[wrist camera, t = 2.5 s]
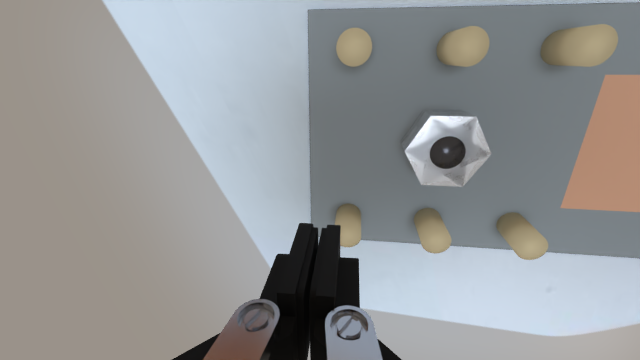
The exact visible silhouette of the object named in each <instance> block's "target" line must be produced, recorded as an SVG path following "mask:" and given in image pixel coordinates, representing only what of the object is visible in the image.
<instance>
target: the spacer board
mask: <svg viewBox="0 0 640 360" xmlns="http://www.w3.org/2000/svg"><path fill="white" fill-rule="evenodd" d="M308 54H309V116H310V179H311V224H313V226H314V227H318V237H320V235H321V230H322V228H327V225H341V233H340V245H341V246H343V247H352V246H355V245H357V244H358V243H359V241H360V240H372V241H387V242H402V243H417V244H422V247H423V248H424V249H425V250H426V251H428V252H430V253H441V252H443V251H445V250H447V249H448V248H449V246H462V247H478V248H493V249H508V250H514V251H515V253H516V254H517V255H518V256H519V257H520V258H522V259H526V260H533V259H537V258H539V257H541V256H542V255H544V254H545V252H553V253H568V254H583V255H598V256H613V257H628V258H640V3H596V4H549V5H502V6H455V7H408V8H361V9H315V10H308ZM423 110H464V111H466V112H468V113H470V114H472V115H474V116H476V117H477V119H478V122H479V124H480V127H481V129H482V132H483V134H484V137H485V139H486V142H487V144H488V147H489V149H490V152H491V155H490V156H489V158H488V159H487V160H486V161H485V162H484V163H483V164H482V166H481V167H480V168H479V169H478V170H477V171H476V172H475V173H474V175H473V176H472V177H471V178H470V179H469V180H468V181H467V183H466V184H465V185H464V186H463V187H456V186H433V185H421V183H420V181H419V179H418V177H417V175H416V173H415V171H414V169H413V167H412V165H411V163H410V161H409V159H408V157H407V155H406V153H405V151H404V149H403V147H402V145H401V143H400V142H401V140H402V139H403V137H404V136H405V135H406V133H407V132H408V130H409V129H410V128H411V126H412V125H413V124H414V122H415V121H416V119H417V118H418V117H419V115H420V114H421V112H422V111H423Z"/></svg>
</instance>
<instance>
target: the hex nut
mask: <svg viewBox="0 0 640 360" xmlns="http://www.w3.org/2000/svg"><path fill="white" fill-rule="evenodd" d="M400 143H401V145H402V147H403V149H404V151H405V153H406V155H407V157H408V159H409V161H410V163H411V165H412V167H413V169H414V171H415V173H416V175H417V177H418V179H419V181H420V183H421V185H433V186H456V187H463V186H464V185H465V184H466V183H467V181H468V180H469V179H470V178H471V177H472V176H473V175H474V173H475V172H476V171H477V170H478V169H479V168H480V167H481V166H482V164H483V163H484V162H485V161H486V160H487V159H488V158H489V156H490V155H491V152H490V149H489V147H488V144H487V142H486V139H485V137H484V134H483V132H482V129H481V127H480V124H479V122H478V119H477V117H476V116H474V115H472V114H470V113H468V112H466V111H464V110H423V111H422V112H421V114H420V115H419V117H418V118H417V119H416V121H415V122H414V124H413V125H412V126H411V128H410V129H409V130H408V132H407V133H406V135H405V136H404V137H403V139H402V140H401V142H400Z"/></svg>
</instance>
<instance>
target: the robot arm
mask: <svg viewBox="0 0 640 360" xmlns="http://www.w3.org/2000/svg"><path fill="white" fill-rule="evenodd" d="M340 233H341V225H327V228H322V230H321V235H320V240H319V246H318V227H314V226H313V224H308V223H300V224H299V226H298V229H297V232H296V235H295V238H294V241H293V244H292V247H291V251H290V254H277V256H276V258H275V261H274V263H273V266H272V268H271V271H270V274H269V276H268V279H267V281H266V284H265V286H264V289H263V291H262V294H261V297H260V299H255V300H251V301H248V302H246V303H244V304H243V305H241V306H240V307H239V308H238V309H237V310H236V311H235V312H234V314H233V315H232V317H231V318H230V320H229V321H228V323H227V324H226V326H225V327H224V329H223V330H222V332H221V333H219V334H217V335H216V336H214V337H212V338H210V339H208V340H207V341H205V342H203V343H201V344H199V345H198V346H196V347H194V348H192V349H190V350H189V351H187V352H185V353H183V354H181V355H179V356H178V357H176V358H174V359H172V360H307V357H308V351H309V345H310V353H311V360H401V359H400V358H399V357H398V356H397V355H395V354H394V353H393V352H392V351H391V350H390V349H389V348H388V347H386V346H385V345H384V344H383V343H382V342H381V341H379V340H378V339H377V336H376V332H375V328H374V324H373V321H372V319H371V317H370V316H369V315H368V314H367V312H365V311H364V310H362V309H361V308H360V302H359V259H358V258H341V257H340Z"/></svg>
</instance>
